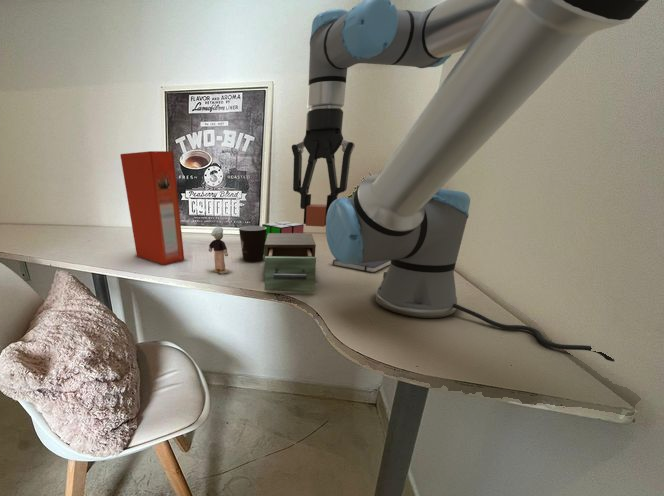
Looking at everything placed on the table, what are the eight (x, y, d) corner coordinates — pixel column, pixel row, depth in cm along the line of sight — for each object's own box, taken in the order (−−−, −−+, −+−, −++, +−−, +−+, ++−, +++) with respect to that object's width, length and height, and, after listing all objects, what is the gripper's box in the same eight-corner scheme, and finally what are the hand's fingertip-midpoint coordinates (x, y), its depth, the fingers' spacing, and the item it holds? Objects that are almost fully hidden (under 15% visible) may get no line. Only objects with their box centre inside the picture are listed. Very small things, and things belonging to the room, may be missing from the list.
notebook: (365, 252, 114) (332, 265, 100) (366, 247, 113) (333, 259, 99) (403, 258, 106) (373, 273, 92) (404, 253, 105) (374, 267, 91)
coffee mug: (264, 263, 103) (264, 230, 99) (237, 262, 105) (236, 230, 101) (269, 254, 113) (269, 224, 109) (244, 254, 115) (243, 224, 111)
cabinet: (313, 281, 86) (315, 244, 82) (264, 281, 87) (264, 244, 84) (309, 265, 100) (311, 233, 96) (267, 265, 102) (268, 233, 98)
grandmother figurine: (234, 271, 96) (233, 226, 91) (226, 275, 93) (224, 228, 88) (213, 268, 100) (210, 224, 94) (205, 271, 97) (202, 226, 92)
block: (328, 223, 80) (329, 204, 79) (324, 226, 77) (325, 206, 75) (310, 222, 82) (311, 204, 80) (305, 225, 79) (306, 206, 77)
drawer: (315, 299, 72) (318, 264, 69) (263, 298, 74) (263, 263, 70) (309, 273, 90) (311, 244, 87) (267, 272, 91) (268, 244, 88)
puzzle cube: (302, 254, 113) (304, 224, 108) (280, 259, 107) (280, 227, 103) (283, 249, 120) (284, 221, 116) (261, 253, 115) (261, 223, 111)
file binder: (162, 265, 104) (148, 151, 91) (136, 256, 115) (120, 153, 102) (184, 260, 109) (173, 151, 96) (156, 252, 120) (143, 153, 107)
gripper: (370, 108, 69) (357, 223, 79) (290, 114, 76) (286, 219, 86) (366, 103, 63) (352, 228, 73) (279, 110, 70) (277, 224, 80)
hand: (317, 223), depth 79 cm, fingers closed on block, 4 cm apart
